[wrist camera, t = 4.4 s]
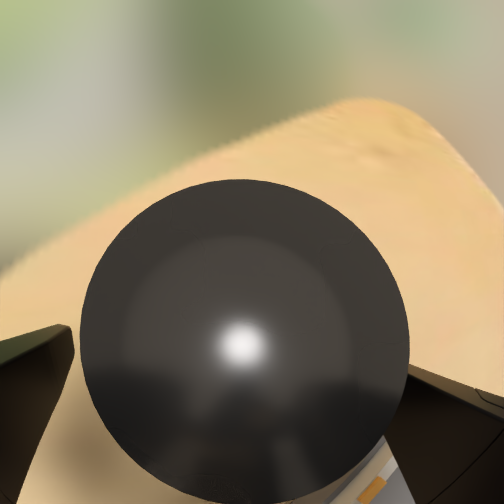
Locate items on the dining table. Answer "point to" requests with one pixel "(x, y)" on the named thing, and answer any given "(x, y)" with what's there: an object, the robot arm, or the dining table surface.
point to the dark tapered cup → (244, 342)
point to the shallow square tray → (366, 482)
